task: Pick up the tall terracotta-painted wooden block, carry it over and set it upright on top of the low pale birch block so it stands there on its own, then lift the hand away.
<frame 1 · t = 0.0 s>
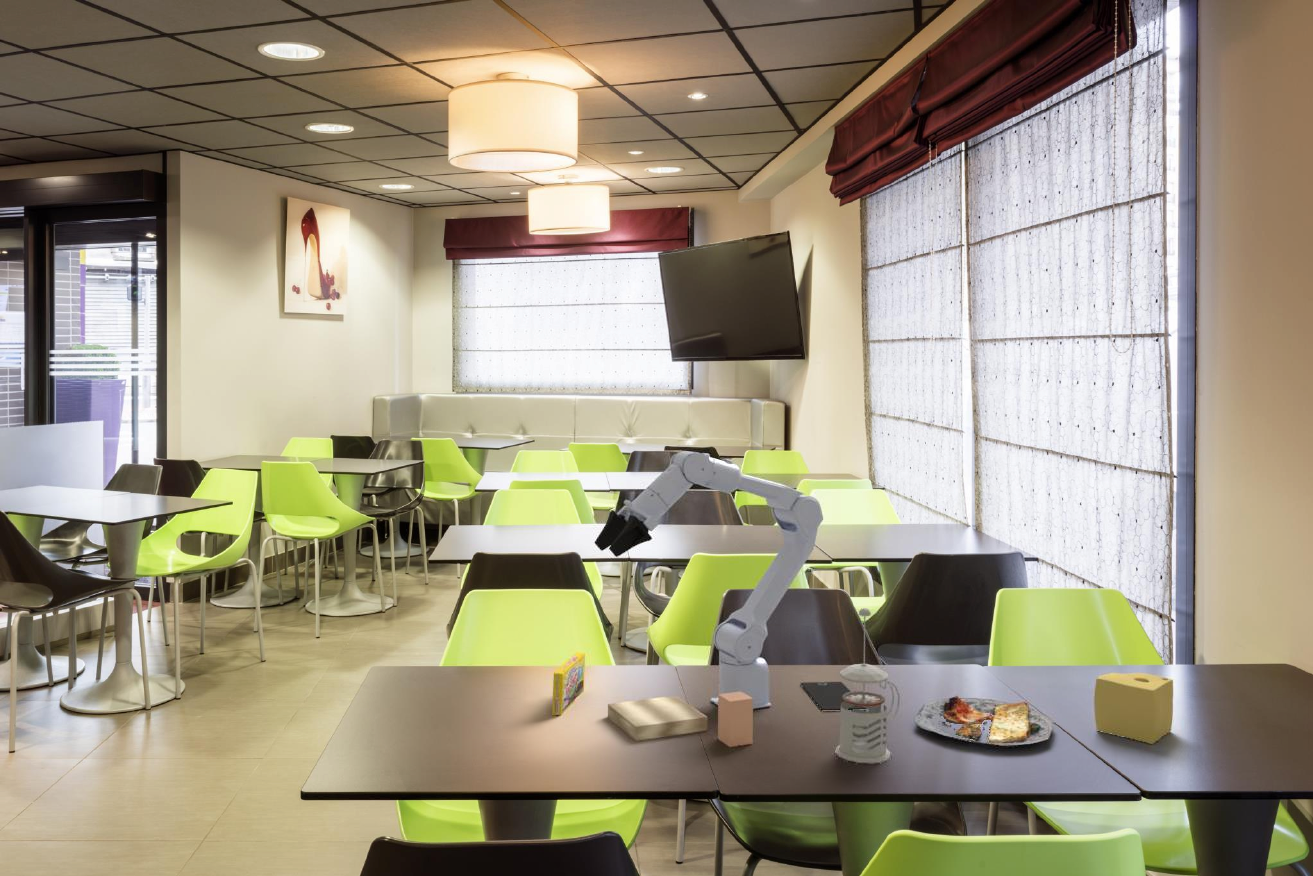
hand: (605, 549, 187), 32 cm above the table, tool tilted 50°, fingers open, 7 cm apart
candy box: (569, 704, 200), on the table
terracotta block: (735, 741, 179), on the table
french press: (867, 754, 173), on the table
cell phone: (832, 700, 204), on the table
cheese: (1134, 733, 184), on the table
birch block: (656, 726, 188), on the table
food plate: (983, 731, 186), on the table
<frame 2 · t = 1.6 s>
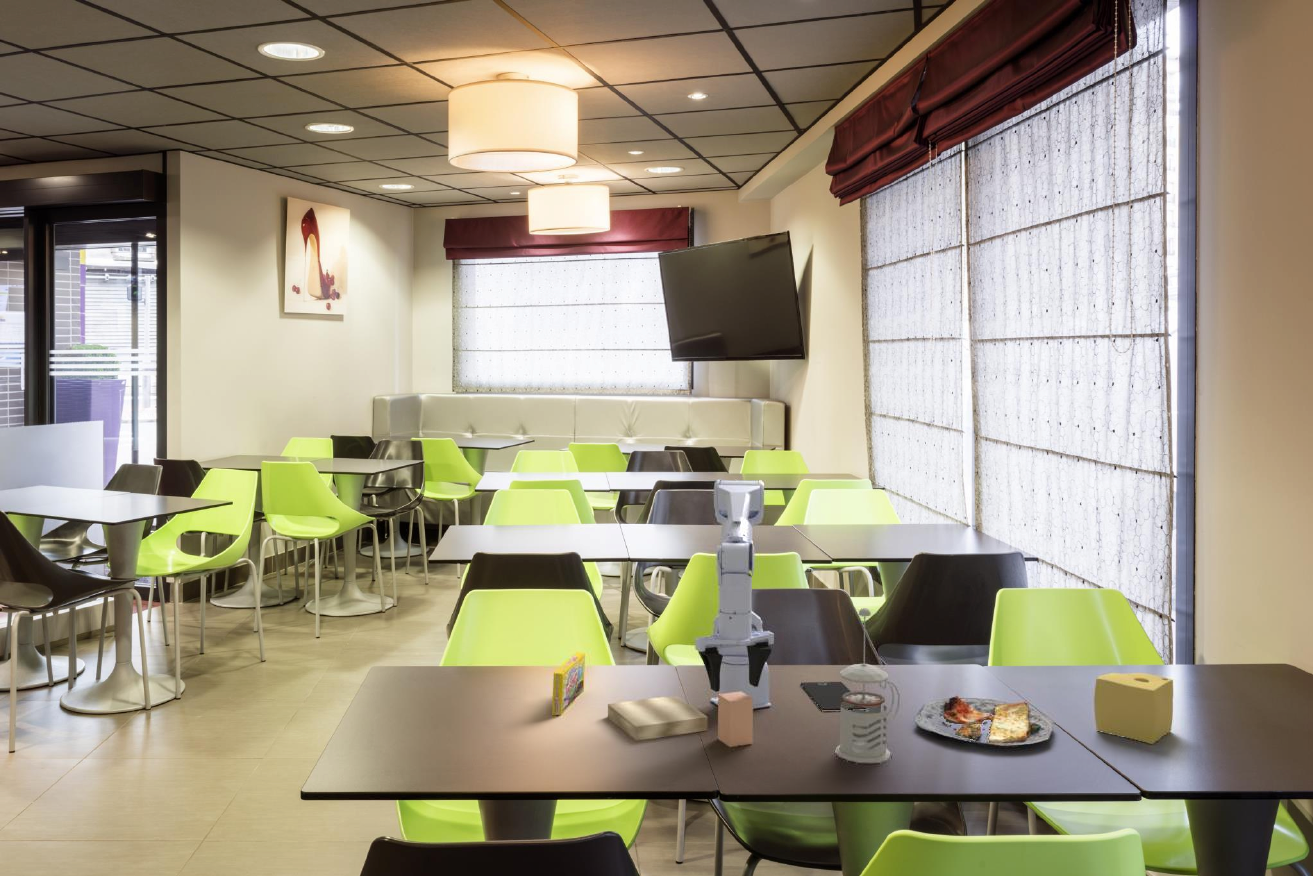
hand: (734, 687, 178), 10 cm above the table, tool pointing down, fingers open, 7 cm apart
nothing on the table moved.
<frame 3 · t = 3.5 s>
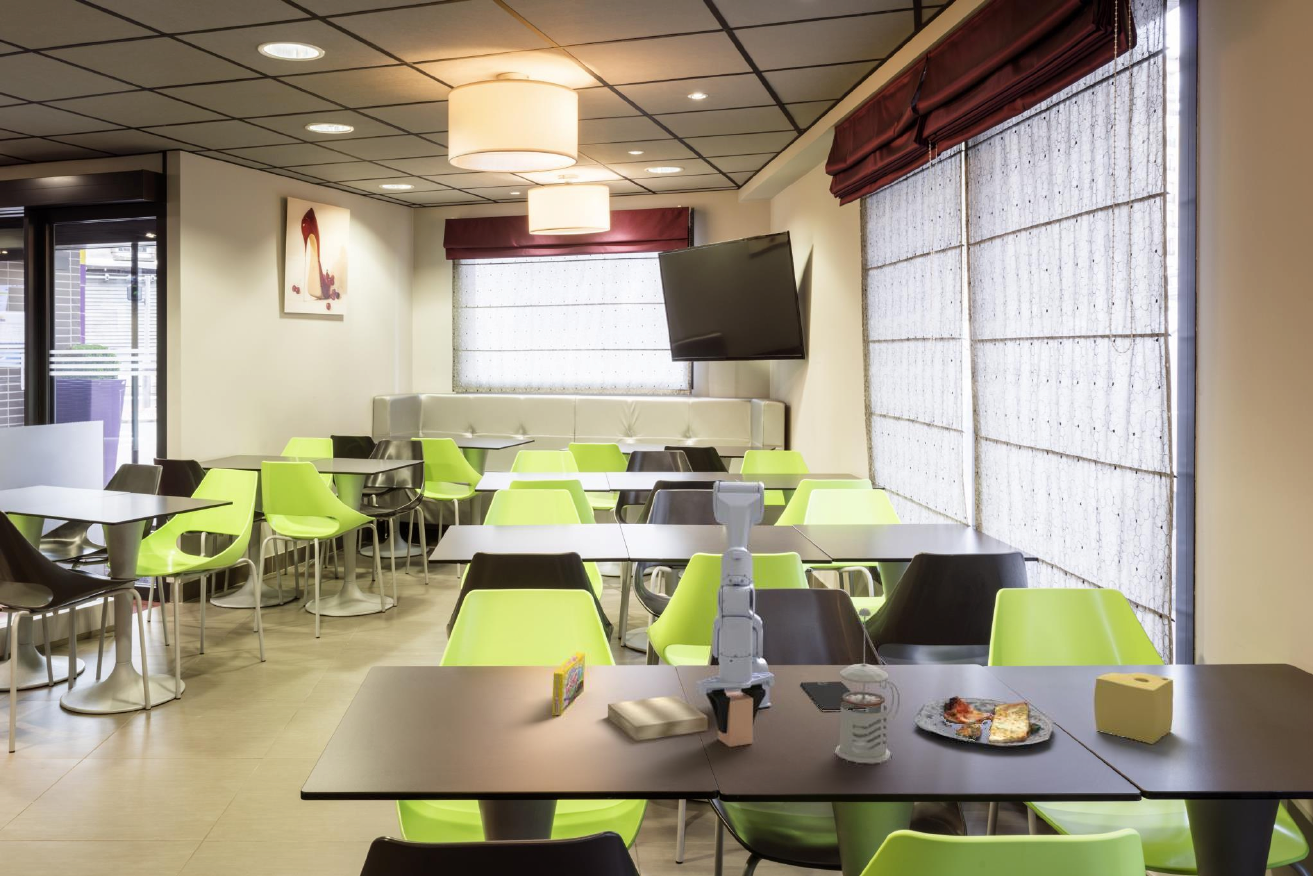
hand: (735, 729, 179), 2 cm above the table, tool pointing down, fingers closed on terracotta block, 4 cm apart
terracotta block: (735, 741, 179), on the table, touching gripper
everything else where it was.
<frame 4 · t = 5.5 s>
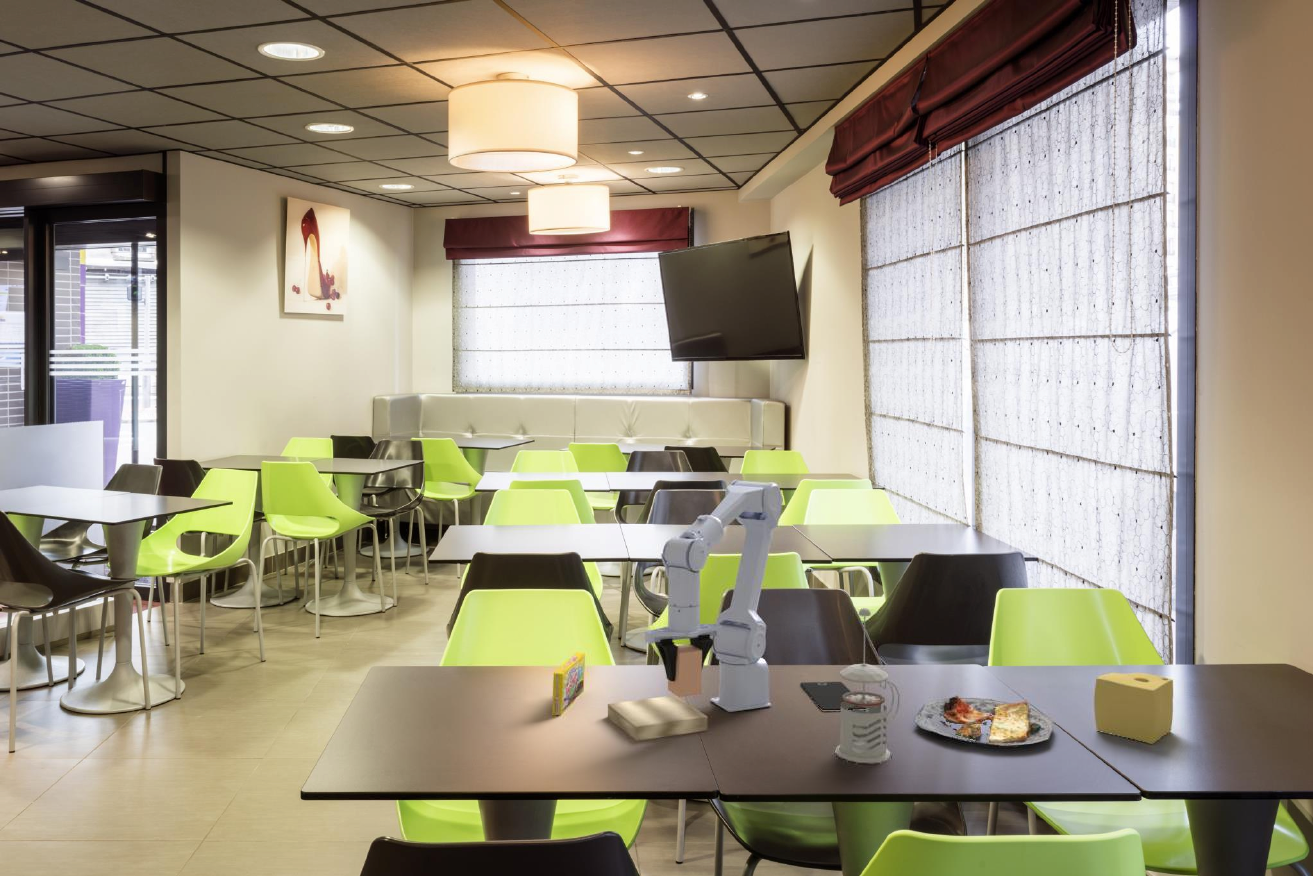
hand: (683, 678, 184), 9 cm above the table, tool pointing down, fingers closed on terracotta block, 4 cm apart
terracotta block: (684, 691, 184), point 7 cm above the table, touching gripper
everything else where it was.
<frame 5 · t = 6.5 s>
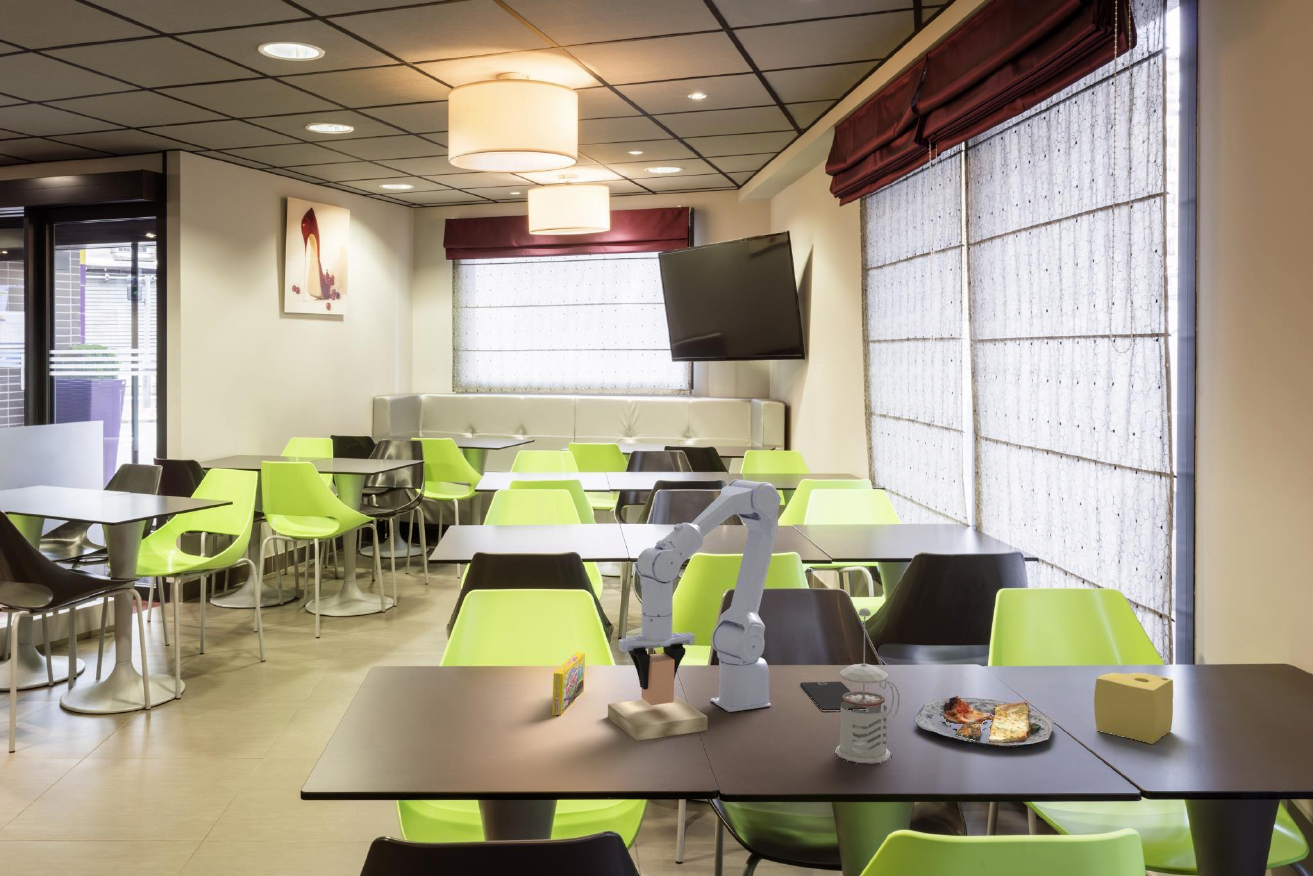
hand: (656, 686, 188), 7 cm above the table, tool pointing down, fingers closed on terracotta block, 4 cm apart
terracotta block: (657, 700, 187), point 4 cm above the table, touching gripper
everything else where it was.
when the fingers open (6 cm above the table, at t = 7.6 s): terracotta block drops 1 cm, resting on birch block.
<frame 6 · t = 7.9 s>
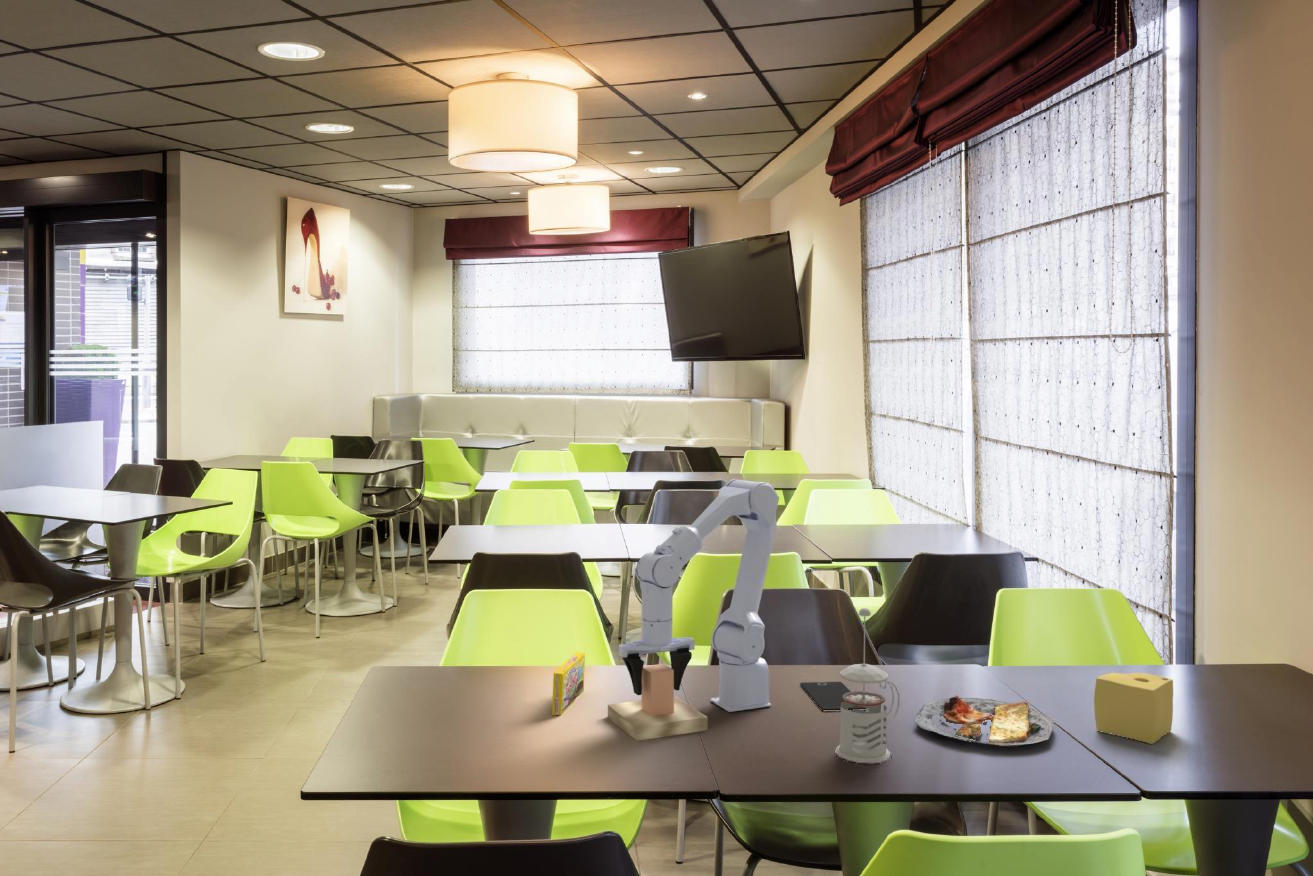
hand: (656, 691, 188), 6 cm above the table, tool pointing down, fingers open, 7 cm apart
terracotta block: (657, 711, 188), point 2 cm above the table, touching birch block
birch block: (656, 726, 188), on the table, touching terracotta block
everything else where it was.
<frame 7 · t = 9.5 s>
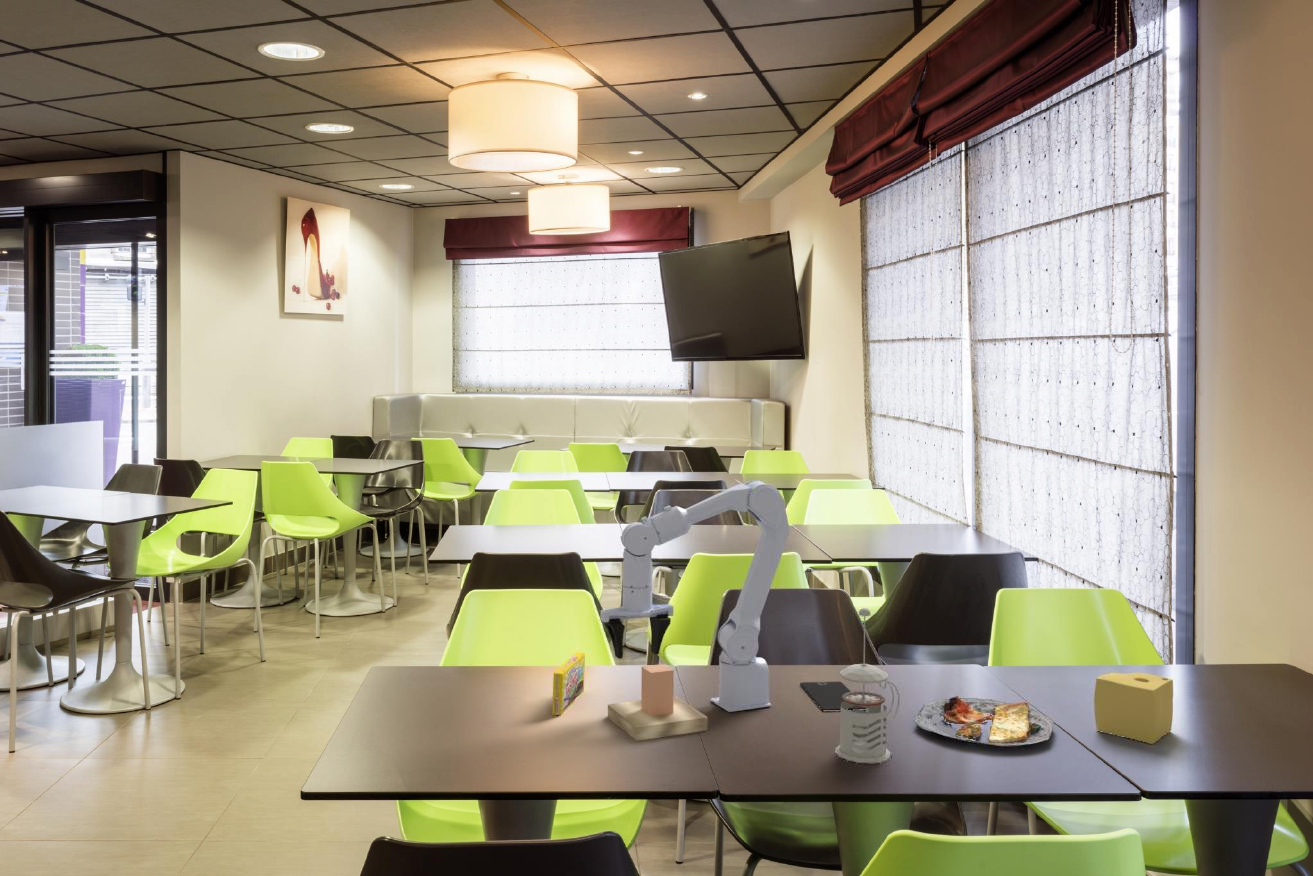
hand: (637, 655, 196), 10 cm above the table, tool pointing down, fingers open, 7 cm apart
nothing on the table moved.
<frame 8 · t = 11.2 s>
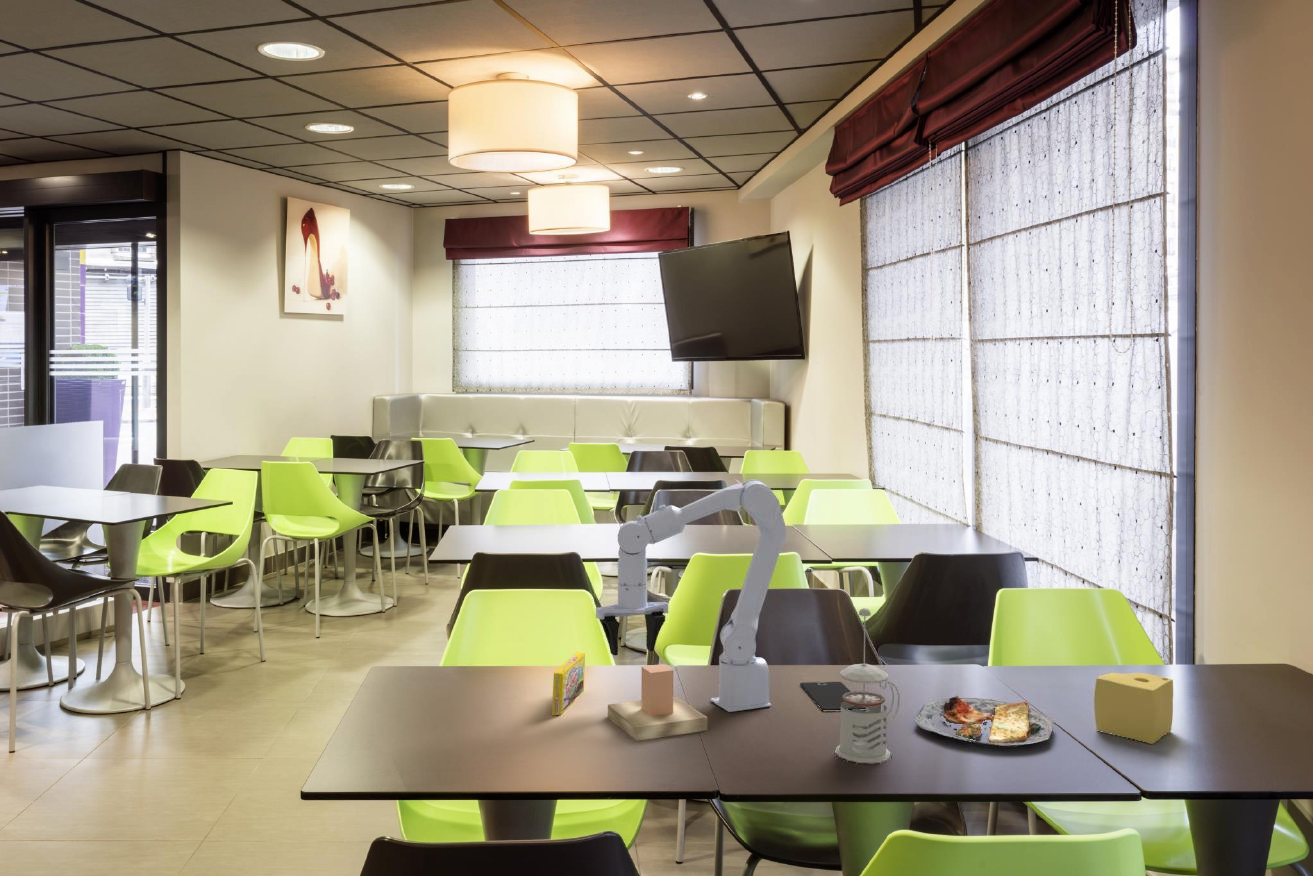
hand: (632, 652, 198), 10 cm above the table, tool pointing down, fingers open, 7 cm apart
nothing on the table moved.
at the end: terracotta block inside the target area on the birch block (0.2 cm from its centre), point 3.0 cm above the birch block's base; terracotta block touching birch block; terracotta block tilted 0° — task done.
